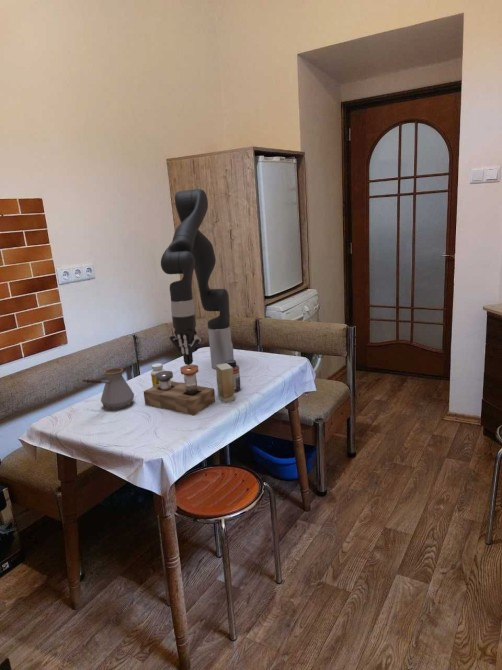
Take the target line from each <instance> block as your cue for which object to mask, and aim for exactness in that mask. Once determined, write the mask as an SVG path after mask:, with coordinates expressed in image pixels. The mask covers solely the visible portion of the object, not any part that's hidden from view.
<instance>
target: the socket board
mask: <svg viewBox="0 0 502 670" xmlns="http://www.w3.org/2000/svg"><path fill="white" fill-rule="evenodd" d="M171 387H172V388H171V389H169V390H167V391H163V390H160V384H158V385H156V386H154V387H153V386H151V387H150V388H149V387H148V389H145V390H144V391H142V392H143V400H144V405H145V406H149V407H155V408H158V409H163V410H168V411H171V412H177V413H182V414H184V415H185V414H186V415H189V416H190V415H191V416H195V415H196V414H198V413H200V412H202V411H203V410H205V409H207V408H208V407H210V406H211V405H213V404H215V403H216V394H215V388H214V387H208V386H207V387H206V386H201V385H197V389H198V394H196V395H194V396H189V395H186V388H185V382H180V381H175V380H174V381H173V380H171Z"/></svg>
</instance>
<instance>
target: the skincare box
mask: <svg viewBox="0 0 502 670" xmlns="http://www.w3.org/2000/svg"><path fill="white" fill-rule="evenodd" d="M215 371H216V383H217V385H216V386H217V397H218V398H219V399H220V400H221V401H222V402H223V403H224V402H225V403H229V402H234V401H235V400H236V394H235V393H236V392H235V391H234V377H233V368H232V367H231V366H230V365H229V364H227V363H224V364H219V365H216V369H215ZM233 400H234V401H233Z"/></svg>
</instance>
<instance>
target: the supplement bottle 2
mask: <svg viewBox="0 0 502 670" xmlns="http://www.w3.org/2000/svg"><path fill="white" fill-rule="evenodd" d="M225 363H227V364H229V365H230V366H231V367H232V368H233V377H234V391H235V393H236V391H237V392H239V391H240V390H241V387H242V386H241V374H240V373H241V372H240V366H239V365H237V360H236V359H235V358H234V359H229V360H226V361H225Z"/></svg>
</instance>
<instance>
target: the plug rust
mask: <svg viewBox="0 0 502 670" xmlns="http://www.w3.org/2000/svg"><path fill="white" fill-rule="evenodd" d="M179 371H180V374H181V375H183V377H184V379H183V380H184V383H185V388H186V395H189V396H194V395H196V394H198V389H197V386H198V381H197V373H199V371H200V370H199V365H197V364H190V365H186V364H184V365H183V366H181V367H180V369H179Z"/></svg>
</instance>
